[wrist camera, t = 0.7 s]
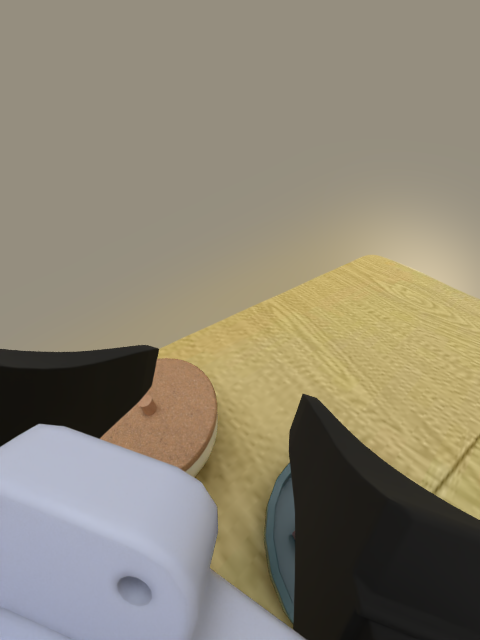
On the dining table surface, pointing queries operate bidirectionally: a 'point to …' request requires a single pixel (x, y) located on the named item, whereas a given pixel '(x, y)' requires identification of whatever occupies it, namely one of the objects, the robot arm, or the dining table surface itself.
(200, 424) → the trinket box
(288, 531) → the tin
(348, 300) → the dining table surface
